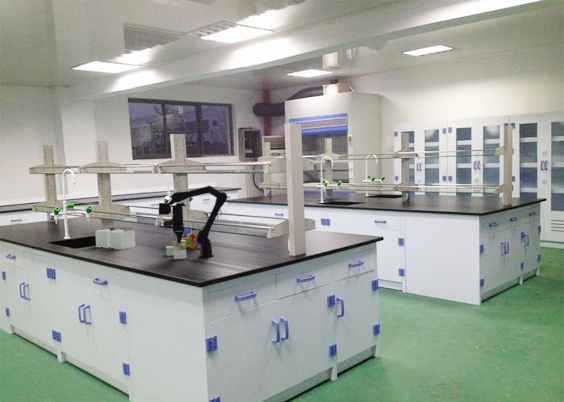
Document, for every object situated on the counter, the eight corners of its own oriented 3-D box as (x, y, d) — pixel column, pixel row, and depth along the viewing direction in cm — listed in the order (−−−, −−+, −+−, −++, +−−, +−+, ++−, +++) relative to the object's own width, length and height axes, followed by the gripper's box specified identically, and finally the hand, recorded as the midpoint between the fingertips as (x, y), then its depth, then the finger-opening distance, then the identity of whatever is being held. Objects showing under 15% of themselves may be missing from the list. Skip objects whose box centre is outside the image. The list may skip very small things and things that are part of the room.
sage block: (178, 253, 295) (178, 245, 294) (178, 255, 291) (178, 246, 290) (166, 254, 293) (166, 246, 293) (166, 256, 289) (166, 247, 289)
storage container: (96, 247, 328) (95, 230, 327) (109, 244, 337) (108, 228, 336) (122, 249, 315) (121, 232, 314) (135, 246, 324) (134, 230, 323)
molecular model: (197, 252, 320) (206, 240, 310) (185, 257, 313) (194, 245, 303) (188, 238, 322) (196, 226, 312) (176, 243, 315) (184, 231, 305)
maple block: (185, 248, 284) (185, 239, 283) (185, 249, 280) (185, 240, 279) (173, 249, 282) (172, 240, 282) (173, 250, 278) (172, 241, 278)
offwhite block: (186, 257, 284) (185, 248, 284) (186, 258, 280) (186, 249, 280) (173, 257, 282) (173, 249, 282) (173, 259, 279) (173, 250, 278)
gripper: (163, 213, 286) (164, 240, 288) (162, 216, 268) (164, 245, 270) (182, 212, 289) (184, 238, 290) (183, 215, 271) (185, 244, 272)
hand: (179, 241), depth 280 cm, fingers open, 9 cm apart
